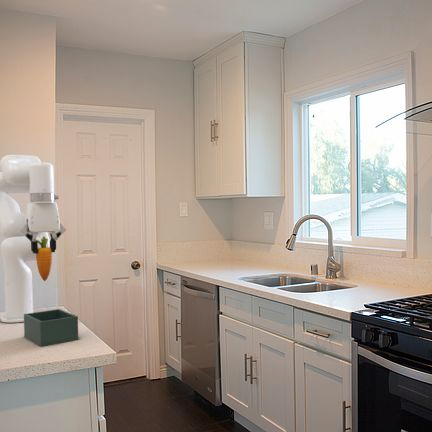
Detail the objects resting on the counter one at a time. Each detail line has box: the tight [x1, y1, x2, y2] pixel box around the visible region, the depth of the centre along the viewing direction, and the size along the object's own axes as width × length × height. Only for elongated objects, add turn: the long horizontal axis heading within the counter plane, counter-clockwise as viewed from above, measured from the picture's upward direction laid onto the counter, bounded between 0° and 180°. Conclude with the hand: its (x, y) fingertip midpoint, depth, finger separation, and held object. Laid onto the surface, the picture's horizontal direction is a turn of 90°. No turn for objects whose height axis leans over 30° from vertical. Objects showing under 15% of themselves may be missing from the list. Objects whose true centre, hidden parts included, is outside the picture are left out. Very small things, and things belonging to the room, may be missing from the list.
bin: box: [23, 308, 79, 347], centre depth 177 cm, size 17×12×8 cm
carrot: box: [35, 237, 53, 282], centre depth 183 cm, size 5×5×15 cm
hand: (43, 252), depth 183 cm, fingers closed on carrot, 4 cm apart
